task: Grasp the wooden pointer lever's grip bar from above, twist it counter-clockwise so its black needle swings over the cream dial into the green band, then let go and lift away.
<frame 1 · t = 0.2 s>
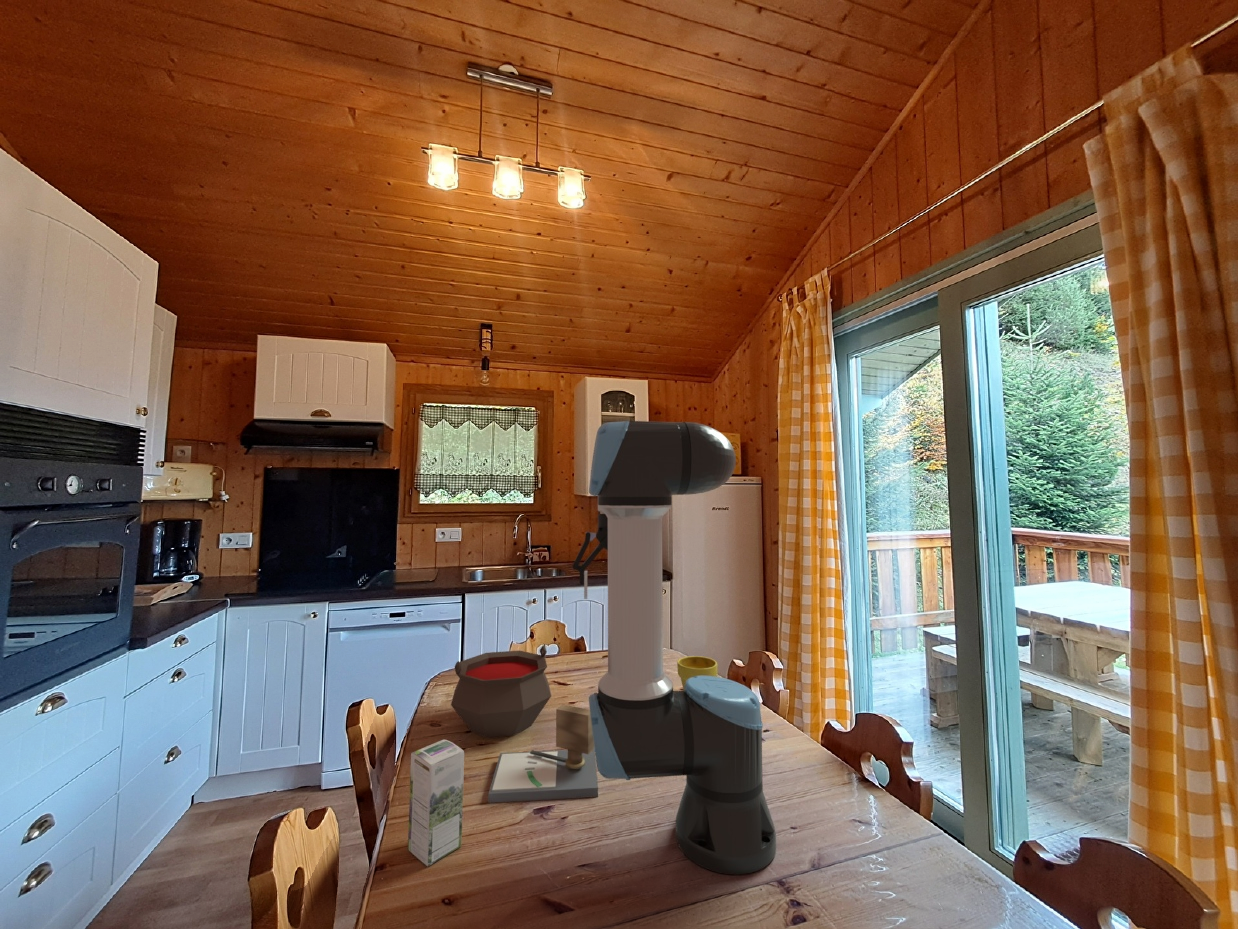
hand: (612, 597, 126), 28 cm above the table, fingers open, 13 cm apart
syrup box: (435, 850, 76), on the table
plant pot: (697, 701, 131), on the table
wooden pointer lever: (560, 733, 97), point 7 cm above the table, hinge at -30.0°
tuner board: (545, 777, 95), on the table
brown soup pot: (501, 724, 118), on the table
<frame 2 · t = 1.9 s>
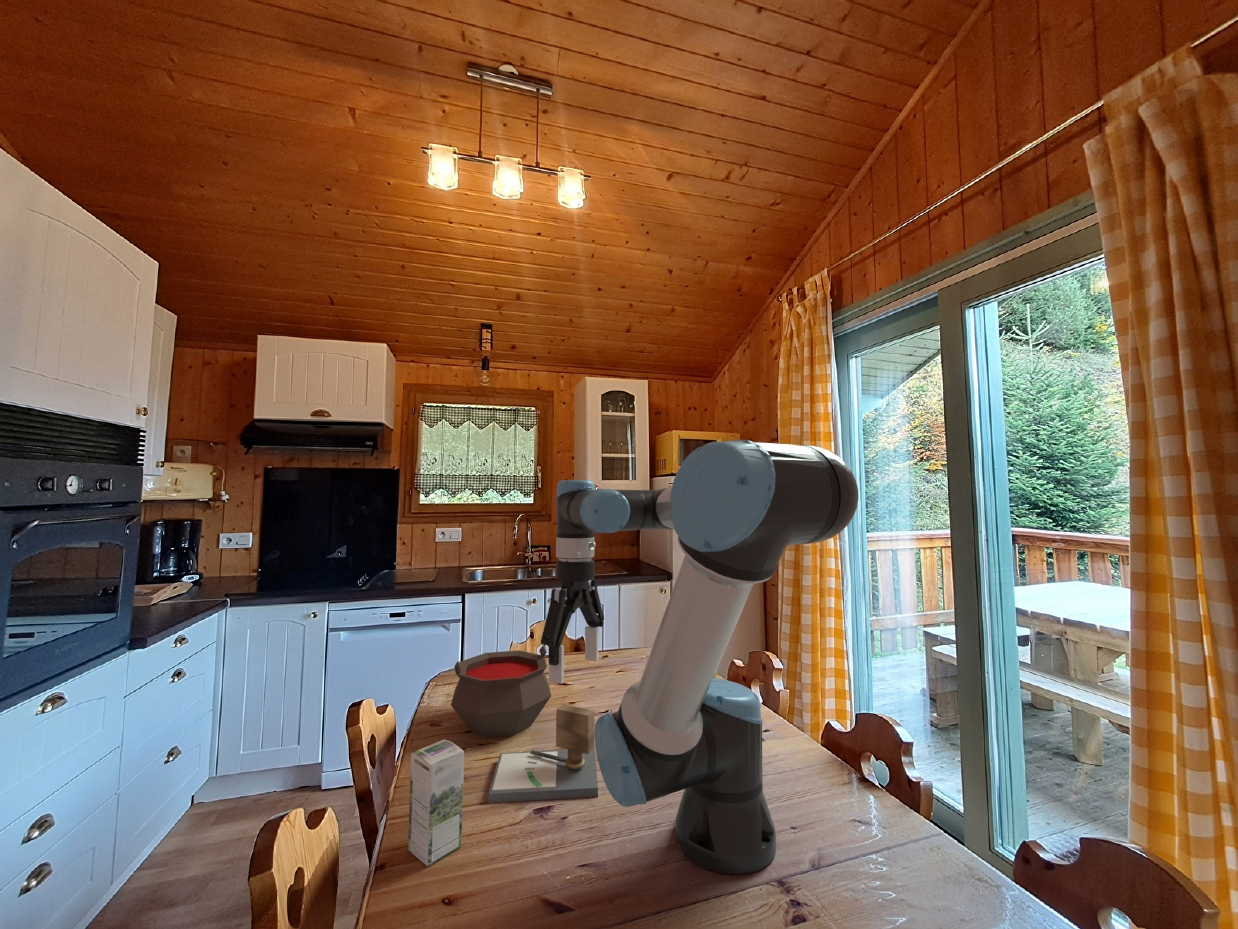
hand: (575, 670, 97), 20 cm above the table, fingers open, 13 cm apart
nothing on the table moved.
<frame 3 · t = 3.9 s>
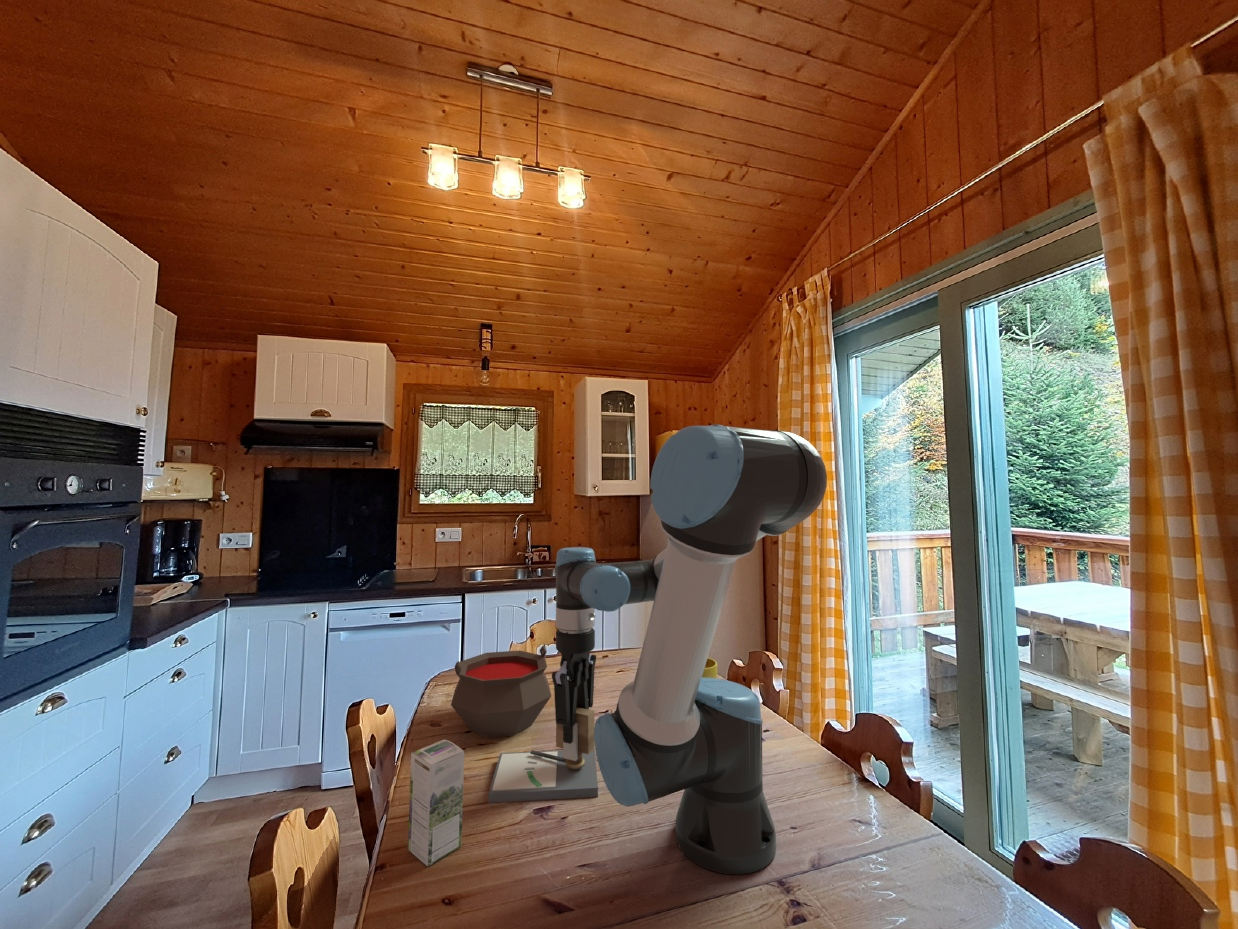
hand: (575, 754, 96), 4 cm above the table, fingers closed on wooden pointer lever, 3 cm apart
wooden pointer lever: (560, 733, 97), point 7 cm above the table, hinge at -30.0°, touching gripper
everything else where it was.
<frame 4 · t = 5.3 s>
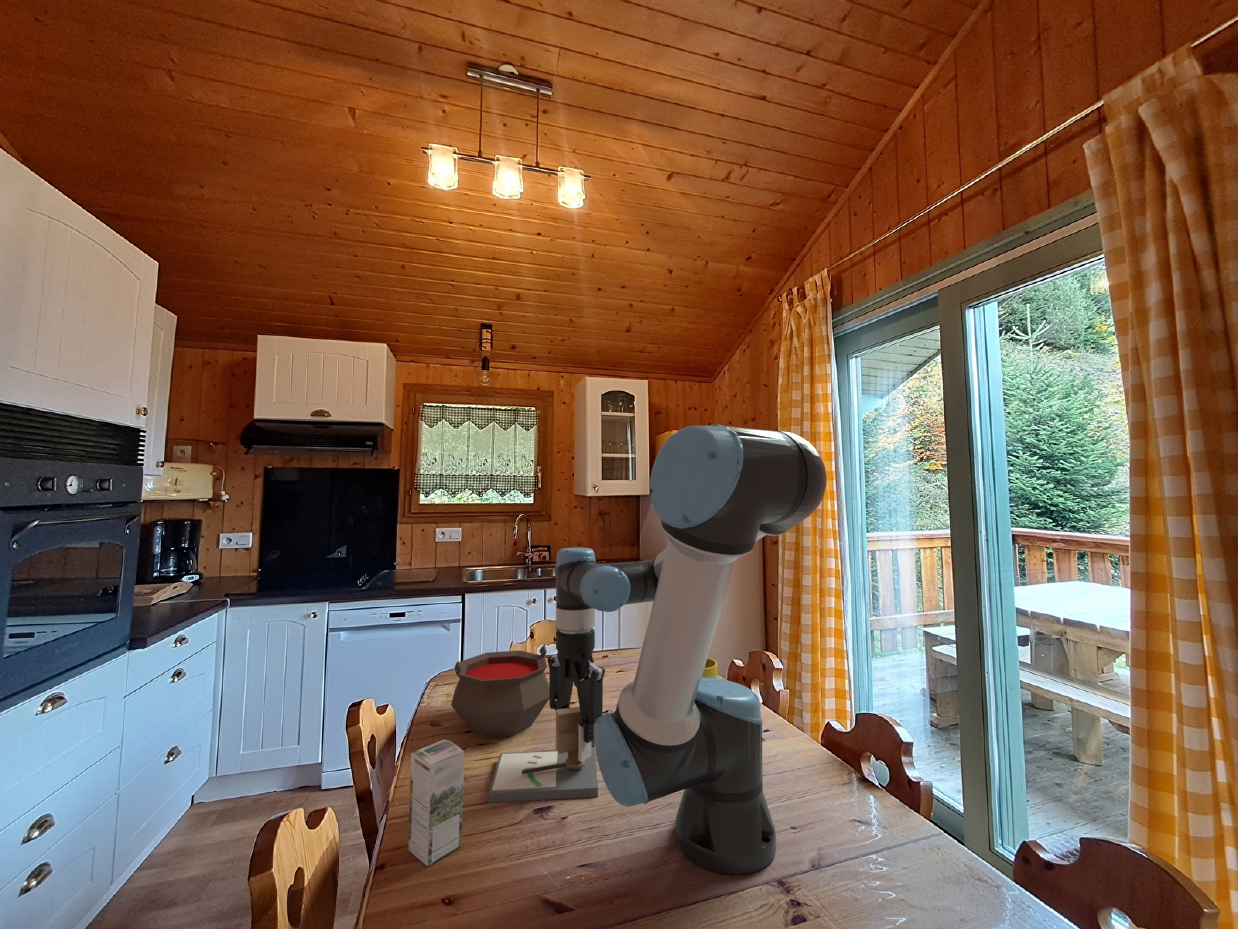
hand: (575, 753, 96), 4 cm above the table, fingers closed on wooden pointer lever, 4 cm apart
wooden pointer lever: (558, 739, 95), point 7 cm above the table, hinge at 13.5°, touching gripper
everything else where it was.
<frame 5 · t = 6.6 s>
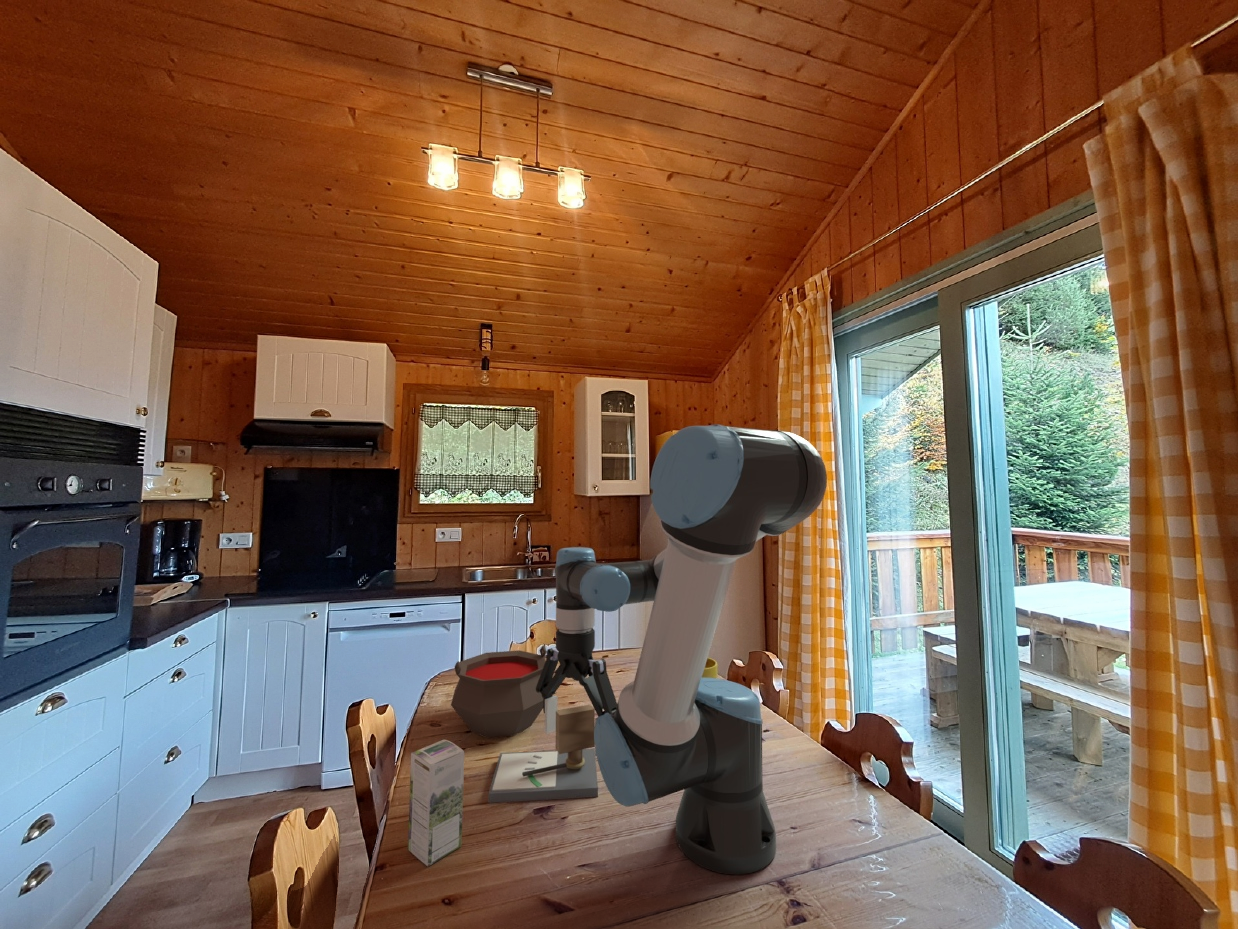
hand: (575, 742, 96), 6 cm above the table, fingers open, 13 cm apart
wooden pointer lever: (558, 740, 95), point 7 cm above the table, hinge at 18.1°
everything else where it was.
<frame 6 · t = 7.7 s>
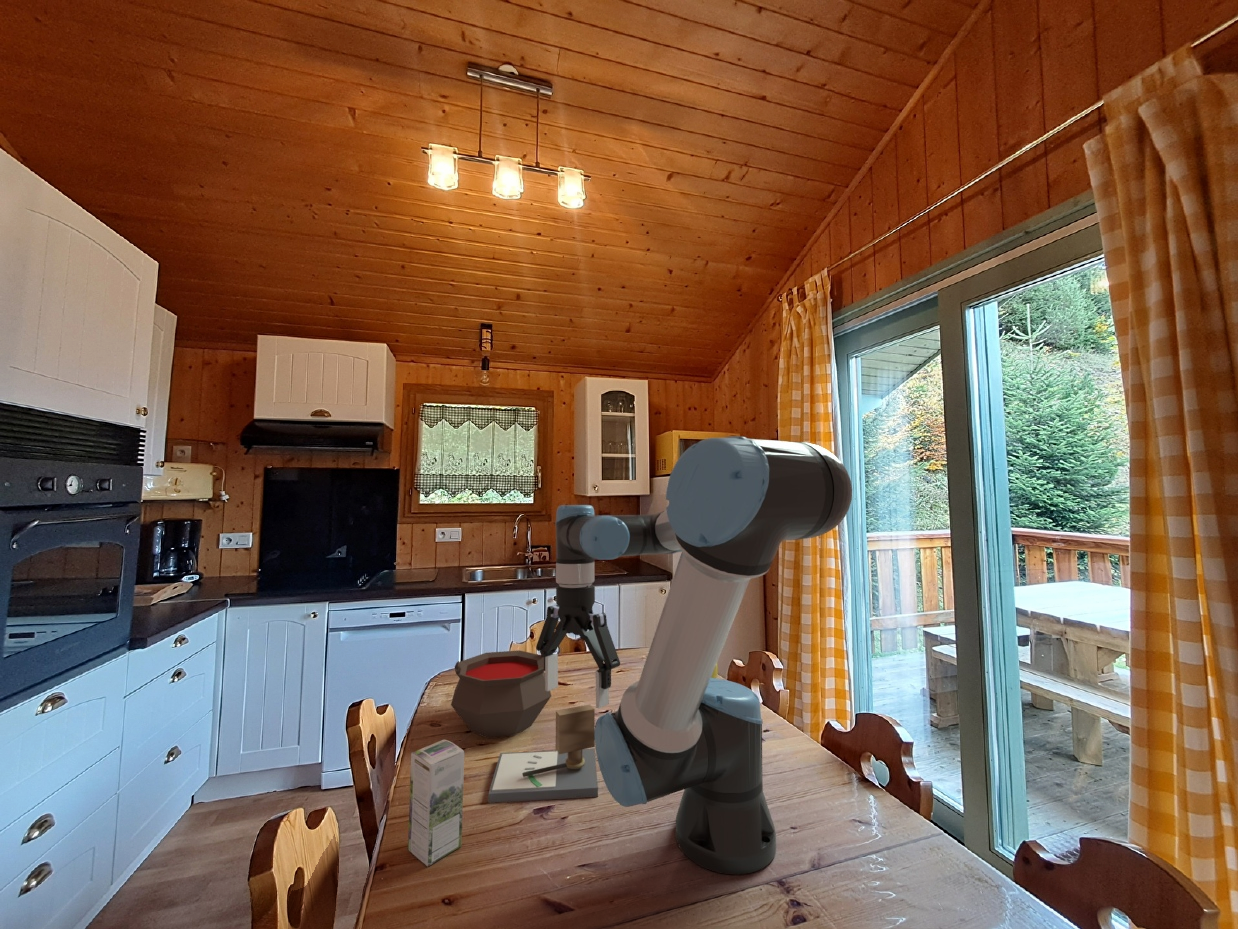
hand: (575, 697, 96), 15 cm above the table, fingers open, 13 cm apart
wooden pointer lever: (558, 740, 94), point 7 cm above the table, hinge at 18.8°
everything else where it was.
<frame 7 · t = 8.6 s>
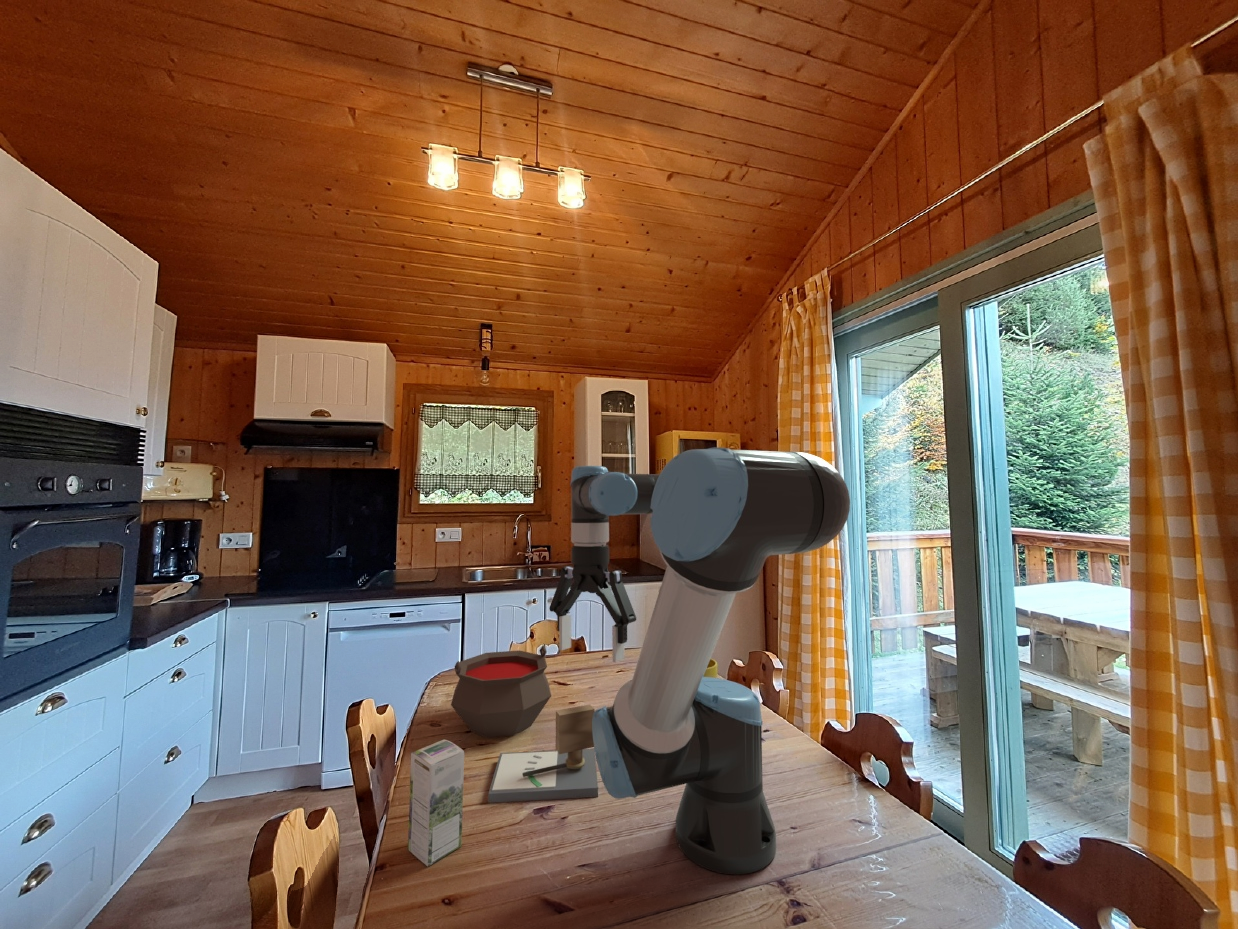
hand: (590, 654, 98), 22 cm above the table, fingers open, 13 cm apart
nothing on the table moved.
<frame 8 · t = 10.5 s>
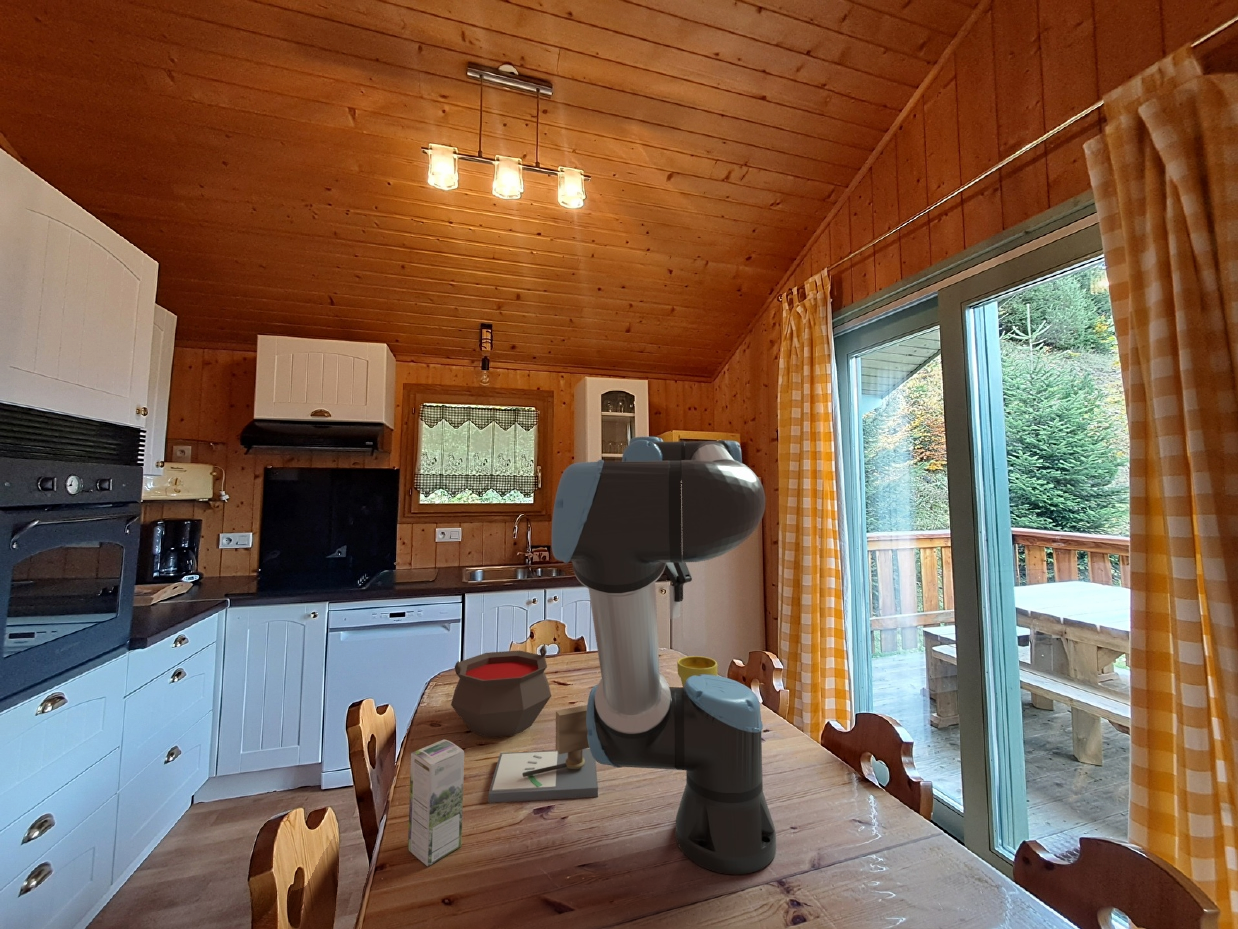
hand: (647, 613, 105), 29 cm above the table, fingers open, 13 cm apart
nothing on the table moved.
at the end: wooden pointer lever at +19° (first picture: -30°); the gripper is holding nothing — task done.
